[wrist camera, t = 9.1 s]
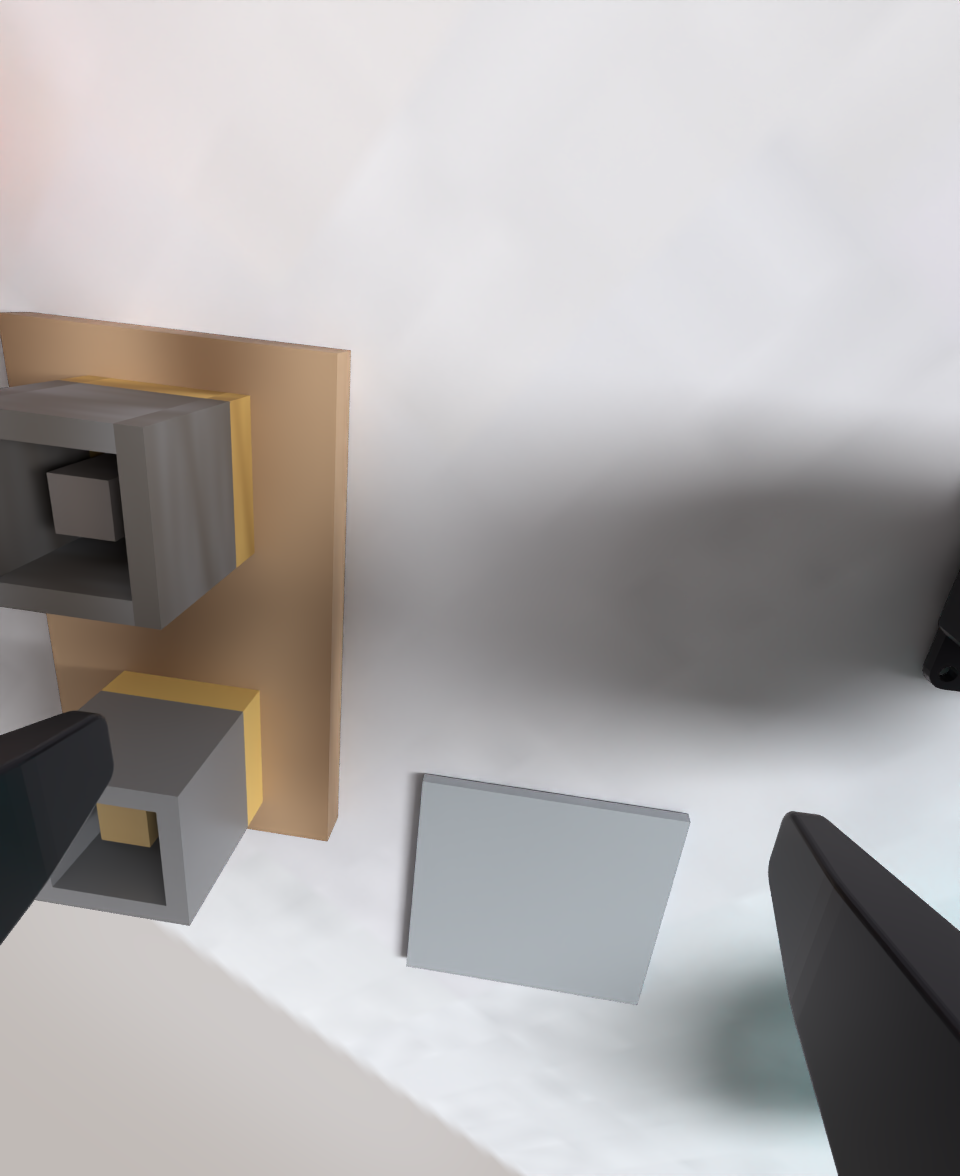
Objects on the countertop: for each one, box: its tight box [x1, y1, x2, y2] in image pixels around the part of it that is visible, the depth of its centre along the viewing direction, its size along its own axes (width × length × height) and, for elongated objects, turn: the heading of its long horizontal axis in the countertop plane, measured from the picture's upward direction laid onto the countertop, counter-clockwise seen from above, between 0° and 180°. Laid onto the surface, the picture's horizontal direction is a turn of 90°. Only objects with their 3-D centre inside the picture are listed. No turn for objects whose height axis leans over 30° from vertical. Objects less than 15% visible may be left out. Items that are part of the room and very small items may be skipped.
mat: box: [406, 774, 690, 1005], centre depth 25 cm, size 9×9×1 cm
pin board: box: [0, 312, 351, 847], centre depth 19 cm, size 9×16×6 cm, turn 174°
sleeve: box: [35, 671, 263, 926], centre depth 20 cm, size 4×4×5 cm
